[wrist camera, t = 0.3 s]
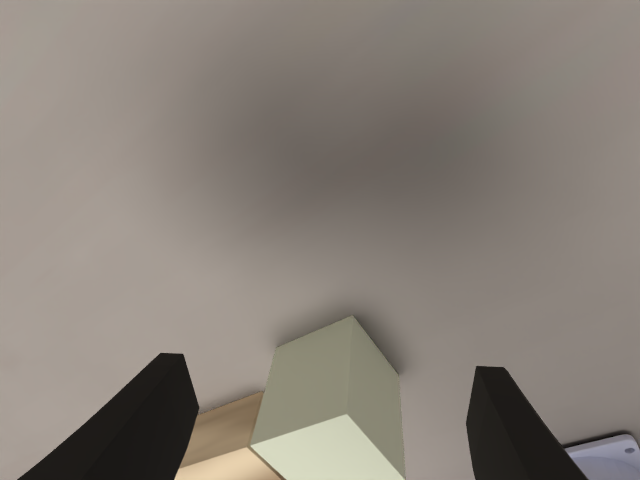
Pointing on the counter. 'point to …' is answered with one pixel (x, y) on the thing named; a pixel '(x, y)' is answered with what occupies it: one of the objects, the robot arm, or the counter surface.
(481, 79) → the counter surface
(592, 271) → the counter surface
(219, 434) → the maple slab
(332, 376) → the sage block
